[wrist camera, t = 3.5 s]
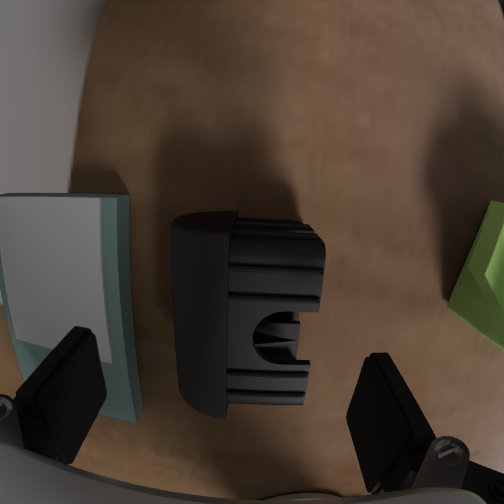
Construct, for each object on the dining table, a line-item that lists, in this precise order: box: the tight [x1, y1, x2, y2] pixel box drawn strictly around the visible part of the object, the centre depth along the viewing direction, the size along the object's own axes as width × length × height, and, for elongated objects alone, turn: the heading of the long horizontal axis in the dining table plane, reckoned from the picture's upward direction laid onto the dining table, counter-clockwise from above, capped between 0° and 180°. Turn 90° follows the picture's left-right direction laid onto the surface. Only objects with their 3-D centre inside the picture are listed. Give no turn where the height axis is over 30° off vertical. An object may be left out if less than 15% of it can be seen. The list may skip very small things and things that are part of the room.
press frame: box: [0, 193, 143, 423], centre depth 13 cm, size 11×17×16 cm, turn 175°
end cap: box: [171, 211, 326, 419], centre depth 17 cm, size 10×7×7 cm
